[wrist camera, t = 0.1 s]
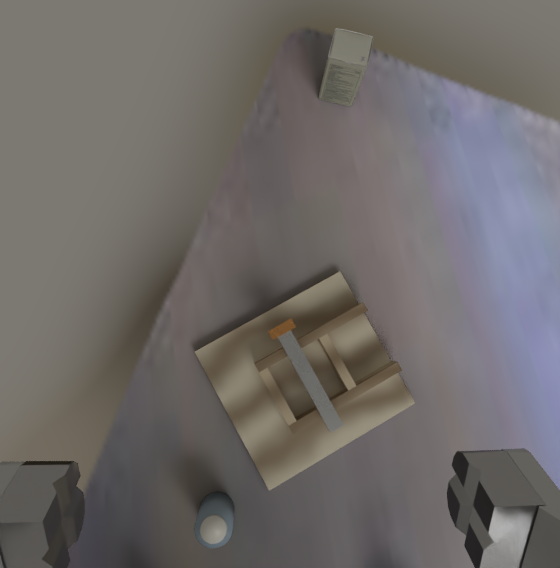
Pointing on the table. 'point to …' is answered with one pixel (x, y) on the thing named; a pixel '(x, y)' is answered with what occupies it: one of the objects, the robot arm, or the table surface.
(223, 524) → the blue-grey cylinder
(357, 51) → the skincare box
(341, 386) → the dock
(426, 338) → the table surface
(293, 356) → the bar
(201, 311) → the table surface
